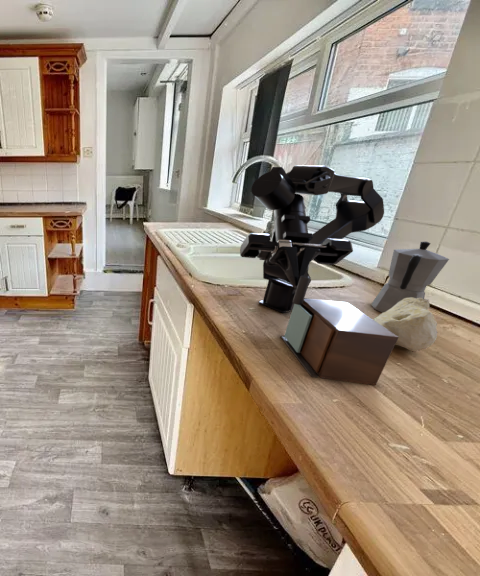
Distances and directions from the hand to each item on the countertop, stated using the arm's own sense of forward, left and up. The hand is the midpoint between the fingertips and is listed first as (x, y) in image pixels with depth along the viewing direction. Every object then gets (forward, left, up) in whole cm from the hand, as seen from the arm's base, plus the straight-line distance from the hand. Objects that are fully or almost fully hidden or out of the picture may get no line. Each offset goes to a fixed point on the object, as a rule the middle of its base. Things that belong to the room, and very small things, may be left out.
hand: (296, 286), depth 59 cm
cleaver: (+3, -2, -10) cm, 11 cm away
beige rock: (+11, +21, -11) cm, 26 cm away
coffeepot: (+6, +39, -11) cm, 41 cm away
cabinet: (+9, 0, -11) cm, 14 cm away
